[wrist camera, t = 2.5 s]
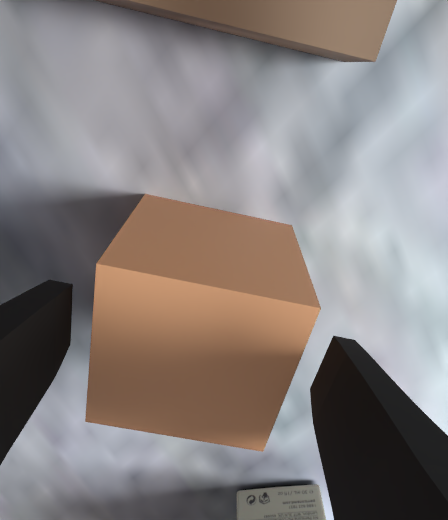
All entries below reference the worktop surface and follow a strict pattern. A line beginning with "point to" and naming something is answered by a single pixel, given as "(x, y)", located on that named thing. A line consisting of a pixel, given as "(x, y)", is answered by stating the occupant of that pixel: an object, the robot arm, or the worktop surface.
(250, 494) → the skincare box
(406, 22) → the worktop surface
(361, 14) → the walnut block
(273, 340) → the orange cube
